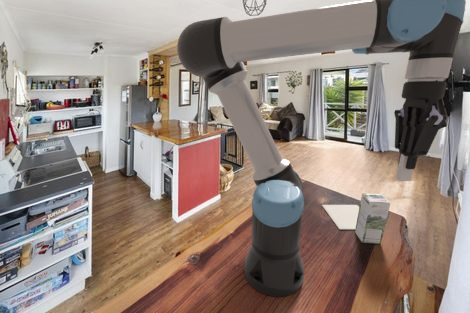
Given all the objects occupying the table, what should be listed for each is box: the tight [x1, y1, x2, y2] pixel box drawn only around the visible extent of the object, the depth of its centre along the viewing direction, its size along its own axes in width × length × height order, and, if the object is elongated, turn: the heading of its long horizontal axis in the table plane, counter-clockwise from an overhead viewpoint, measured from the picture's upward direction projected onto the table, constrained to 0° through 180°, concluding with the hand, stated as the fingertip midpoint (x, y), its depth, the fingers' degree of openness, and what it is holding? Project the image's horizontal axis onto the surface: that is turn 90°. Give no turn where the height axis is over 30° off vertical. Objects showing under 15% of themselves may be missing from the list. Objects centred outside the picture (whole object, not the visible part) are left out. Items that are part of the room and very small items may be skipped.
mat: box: [321, 204, 360, 231], centre depth 86 cm, size 14×16×1 cm
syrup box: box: [354, 193, 391, 245], centre depth 72 cm, size 6×6×14 cm
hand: (403, 179), depth 58 cm, fingers closed
